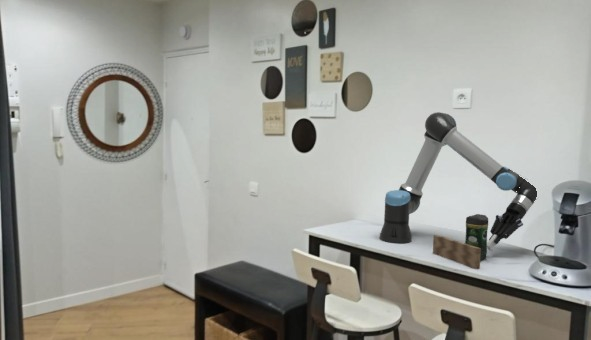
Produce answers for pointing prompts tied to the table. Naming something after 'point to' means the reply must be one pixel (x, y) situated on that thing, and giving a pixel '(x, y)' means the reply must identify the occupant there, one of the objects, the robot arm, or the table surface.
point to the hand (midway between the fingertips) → (488, 247)
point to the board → (457, 251)
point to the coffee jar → (477, 233)
